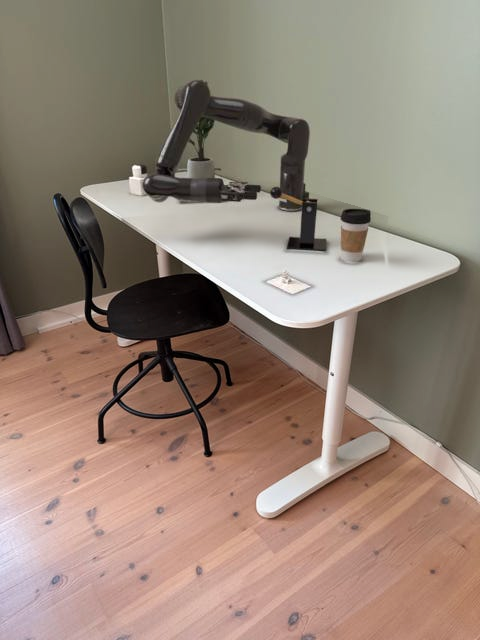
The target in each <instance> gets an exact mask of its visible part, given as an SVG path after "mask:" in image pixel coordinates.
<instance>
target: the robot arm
mask: <svg viewBox="0 0 480 640" xmlns="http://www.w3.org/2000/svg"><path fill="white" fill-rule="evenodd" d="M201 80H202V79H194V80H190V81H188V82H185V83H184V84H182V85H180V86H178V88H177V89H176V90H175V92H174V96H173V101H174V104H175V106H176V108H177V109H178V110H179V111H180V113H179V115H178V117H177V119H176V121H175V122H174V124H173V126H172V128H171V129H170V131H169V132H168V133H167V135H166V137H165V139H164V140H163V142H162V144H161V146H160V148H159V151H158V154H157V156H156V159H155V162H154V165H155V169H156V170H155V173H150V174H147V177H145V179H144V180H143V183H142V186H143V189H144V191H145V193H146V194H147V195H146V196H148V197H149V198H150V199H151V200H152V201H153V202H155V203H159V204H160V203H164V202H165V201H166V200H168V198H173V199H175V200H177V201H179V202H180V201H195V202H203V203H202V204H204V203H205V204H222V203H223V202H222V201H226V202H235V203H241V201H245V200H247V201H248V200H249V201H256V200H258V199H257V198H258V193H261V191H262V186H261V185H260V184H249V182H248V181H229V183H228V184H224V180H223V179H222V178H221V177H215V178H188V177H176V172H177V170H178V167H179V164H180V163H181V160H182V156H183V155H184V153H185V150H186V148H187V146H188V143H189V142H188V141H189V139H191V136H192V135H193V134H194V133H193V131H194V129H195V127H196V125H197V124H199V120H200V118H201V117H204V118H209V119H213V120H215V121H216V122H219V123H221V124H224V125H226V126H231V127H233V128H236V129H238V130H242V131H246V132H250V133H255V134H264V135H267V136H270V137H273V138H274V139H277V140H279V141H280V142H283V143H284V144H287V150H286V152H285V153H284V154H282V155H281V156H280V169H279V170H280V171H279V188H281V190H282V193H283V194H286V195H288V196H291V197H293V198H295V199H298V200H300V201H303V198H309V199H310V191H306V183H305V169H306V168H305V167H306V160H307V157H308V153H309V145H310V138H311V129H310V124H309V122H308V121H307V120H305V119H303V118H299V117H294V116H293V117H292V116H286V115H285V116H284V115H280V114H276V113H272V112H270V111H269V110H267V109H266V108H264V107H263V106H261V105H259V104H257V103H254V102H251V101H248V100H245V99H241V98H236V97H222V96H214V95H212V93H211V89H210V87H209V85H207V84H206V83H205V81H204V80H203V81H204V82H203V81H201ZM195 130H196V129H195ZM278 209H279V210H281V211H285V212H297V211H302V205H299V204H297V203H294V202H292V201H290V200H287V199H285V198H282V197H280V198H278Z"/></svg>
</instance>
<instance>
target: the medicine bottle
mask: <svg viewBox="0 0 480 640" xmlns="http://www.w3.org/2000/svg"><path fill="white" fill-rule="evenodd" d="M131 170H132V176H129V177H128V182H129V190H130V194H131V195H135V196H140V197H144V196H148V195H147V194H146V193H145V191H144V189H143V186H142V183H143V180H144V179H145V177H147V176H148V169H147V165H145V164H134V165H133V166H132V168H131Z"/></svg>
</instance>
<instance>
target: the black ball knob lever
mask: <svg viewBox="0 0 480 640" xmlns="http://www.w3.org/2000/svg"><path fill="white" fill-rule="evenodd" d="M269 194H270V197H271V198H272V199H275V200H279V198H280V197H282V198H285V199H287V200H290V201H292V202H294V203H297V204H299V205H302V202H303V201H300V200H298V199H295V198H293V197H291V196H288V195H286V194H283V193H282V190H281V188H280V186H273V187H272V188H271V189H270V193H269ZM307 202H310V201H308V200H307Z"/></svg>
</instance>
